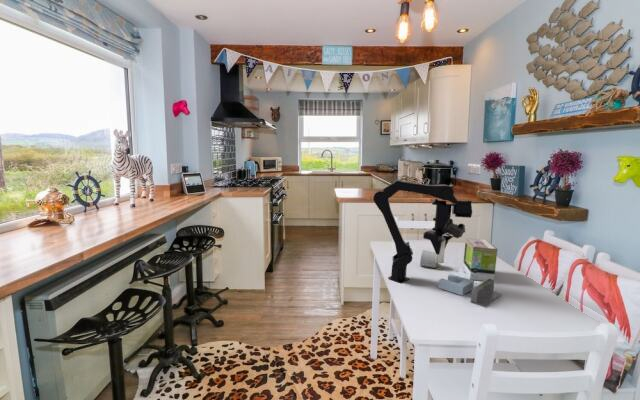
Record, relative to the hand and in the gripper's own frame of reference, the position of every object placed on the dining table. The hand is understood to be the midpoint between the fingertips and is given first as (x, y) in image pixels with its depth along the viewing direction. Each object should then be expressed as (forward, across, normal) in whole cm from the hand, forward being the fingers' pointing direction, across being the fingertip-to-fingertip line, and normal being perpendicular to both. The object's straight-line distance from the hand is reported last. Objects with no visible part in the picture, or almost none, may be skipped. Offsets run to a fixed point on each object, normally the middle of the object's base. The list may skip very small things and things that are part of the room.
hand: (439, 253), depth 140 cm
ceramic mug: (+13, +17, +13) cm, 25 cm away
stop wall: (+12, 0, -20) cm, 23 cm away
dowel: (+4, 0, 0) cm, 4 cm away
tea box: (+13, +23, -7) cm, 27 cm away
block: (+13, 0, -8) cm, 15 cm away
